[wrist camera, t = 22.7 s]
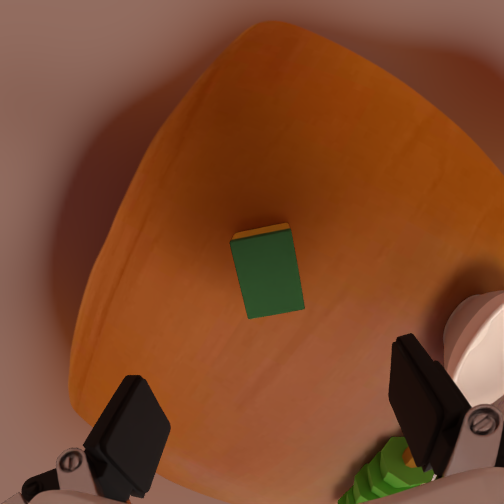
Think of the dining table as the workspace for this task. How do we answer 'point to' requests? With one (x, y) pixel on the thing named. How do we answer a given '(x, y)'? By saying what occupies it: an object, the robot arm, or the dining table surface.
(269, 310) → the sponge
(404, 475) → the decorative tree
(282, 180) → the dining table surface
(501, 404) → the paper bowls
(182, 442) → the dining table surface
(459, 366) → the bowl
